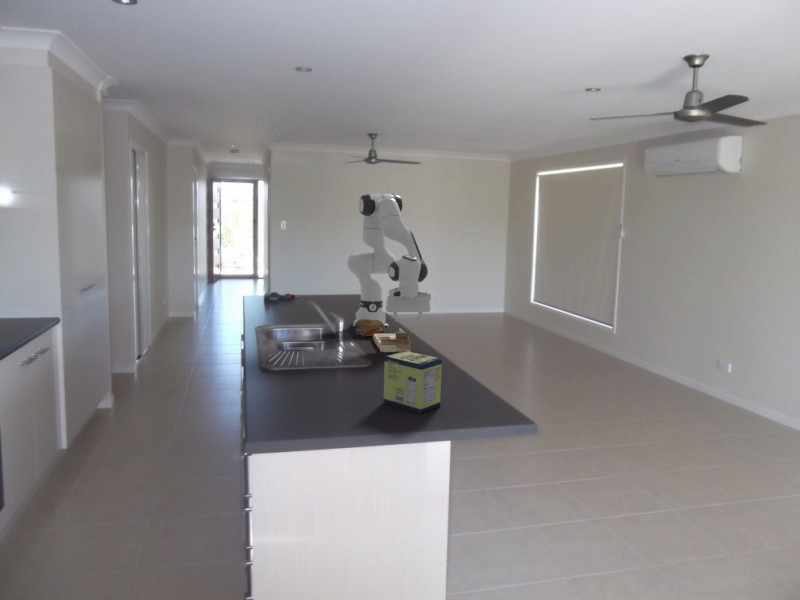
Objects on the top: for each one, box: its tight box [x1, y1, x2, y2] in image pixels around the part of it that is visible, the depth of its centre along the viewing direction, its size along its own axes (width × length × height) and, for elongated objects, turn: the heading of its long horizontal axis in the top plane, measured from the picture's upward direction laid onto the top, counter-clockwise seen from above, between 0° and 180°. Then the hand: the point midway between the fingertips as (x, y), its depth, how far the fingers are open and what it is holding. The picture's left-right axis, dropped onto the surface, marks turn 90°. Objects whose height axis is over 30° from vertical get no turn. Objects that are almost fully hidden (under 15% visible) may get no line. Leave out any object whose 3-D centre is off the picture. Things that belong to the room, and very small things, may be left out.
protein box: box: [383, 351, 443, 414], centre depth 185 cm, size 10×16×16 cm
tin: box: [353, 319, 386, 338], centre depth 285 cm, size 15×3×8 cm, turn 73°
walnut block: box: [395, 331, 409, 339], centre depth 260 cm, size 4×4×4 cm
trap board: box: [372, 328, 412, 353], centre depth 266 cm, size 24×13×6 cm, turn 11°
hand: (407, 321), depth 266 cm, fingers open, 8 cm apart
